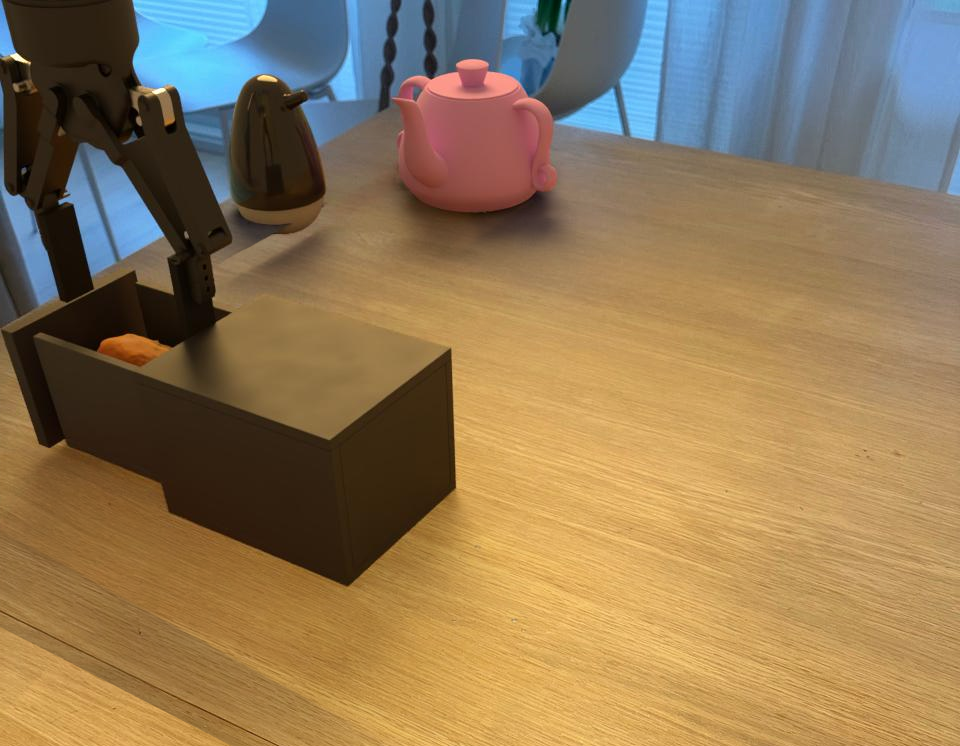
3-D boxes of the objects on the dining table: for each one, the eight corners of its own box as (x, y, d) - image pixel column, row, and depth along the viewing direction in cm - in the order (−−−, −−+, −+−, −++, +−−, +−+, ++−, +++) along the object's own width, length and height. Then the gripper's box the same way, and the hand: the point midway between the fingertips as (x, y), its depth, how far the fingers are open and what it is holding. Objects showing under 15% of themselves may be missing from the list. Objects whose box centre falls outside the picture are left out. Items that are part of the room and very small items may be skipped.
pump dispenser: (292, 252, 114) (271, 96, 104) (217, 232, 118) (190, 80, 108) (350, 219, 120) (336, 69, 110) (277, 201, 125) (257, 55, 114)
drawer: (1, 429, 88) (-40, 315, 81) (114, 363, 95) (85, 254, 89) (184, 503, 80) (155, 384, 73) (291, 426, 87) (274, 311, 81)
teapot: (327, 210, 122) (312, 76, 113) (443, 153, 135) (438, 29, 126) (486, 255, 113) (485, 114, 103) (595, 189, 126) (602, 58, 116)
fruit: (48, 414, 81) (81, 310, 80) (118, 432, 88) (149, 337, 87) (131, 449, 79) (166, 343, 77) (196, 465, 86) (228, 368, 85)
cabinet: (168, 512, 80) (132, 371, 73) (285, 427, 89) (265, 292, 81) (347, 587, 74) (329, 440, 66) (456, 488, 82) (451, 347, 74)
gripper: (260, -3, 63) (298, 340, 78) (-22, -60, 72) (61, 257, 87) (168, 28, 58) (227, 386, 73) (-121, -38, 67) (-15, 294, 82)
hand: (137, 317), depth 80 cm, fingers open, 12 cm apart
